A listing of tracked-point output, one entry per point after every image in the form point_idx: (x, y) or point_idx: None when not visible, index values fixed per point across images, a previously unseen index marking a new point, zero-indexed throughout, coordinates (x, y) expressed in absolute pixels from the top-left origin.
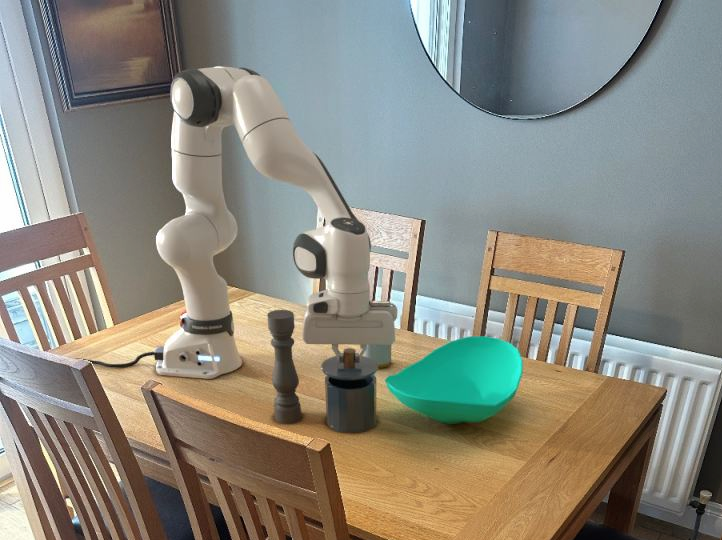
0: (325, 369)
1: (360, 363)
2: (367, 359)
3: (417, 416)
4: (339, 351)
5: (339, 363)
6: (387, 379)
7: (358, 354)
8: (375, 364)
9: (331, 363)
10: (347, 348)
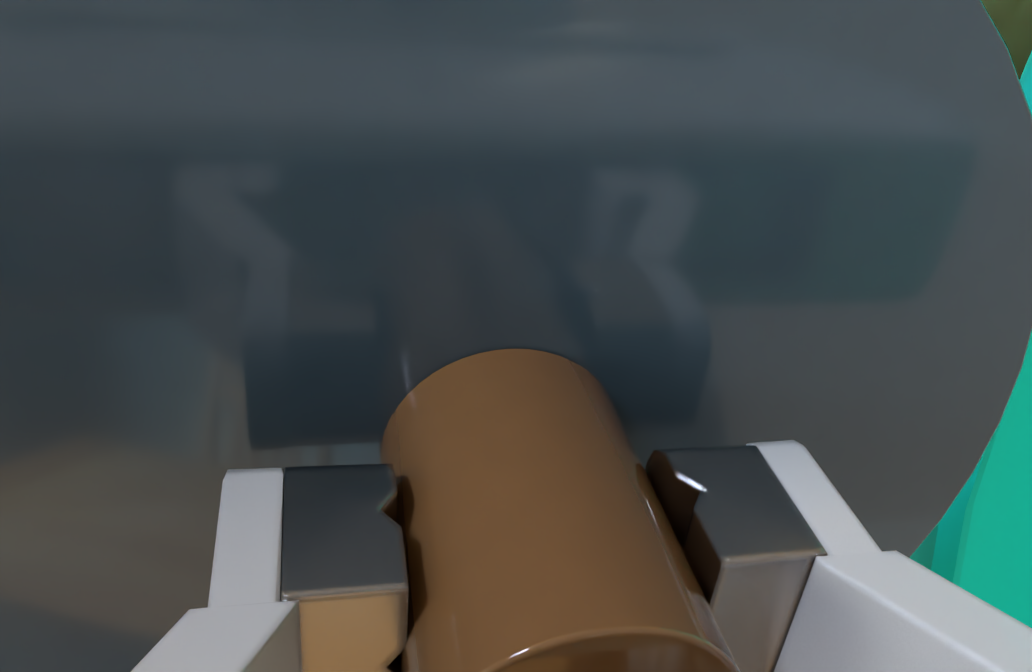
0: (5, 622)
1: (737, 342)
2: (940, 141)
3: (1018, 20)
4: (279, 632)
5: (280, 358)
6: (976, 480)
7: (778, 638)
8: (994, 371)
9: (79, 368)
10: (547, 657)
